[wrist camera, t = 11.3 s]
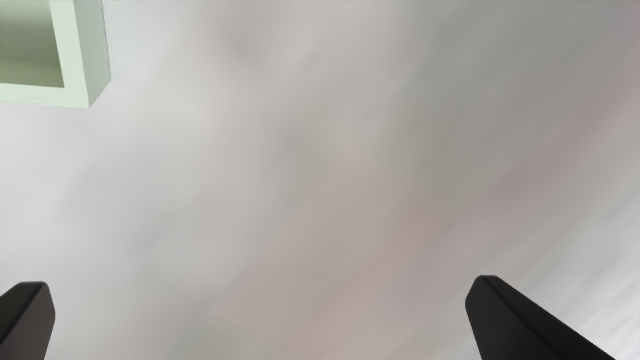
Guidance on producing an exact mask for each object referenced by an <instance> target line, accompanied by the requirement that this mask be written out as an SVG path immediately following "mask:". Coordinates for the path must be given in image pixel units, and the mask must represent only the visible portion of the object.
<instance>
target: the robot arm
mask: <svg viewBox="0 0 640 360" xmlns="http://www.w3.org/2000/svg"><path fill="white" fill-rule="evenodd" d="M465 308H466V312H467V315H468V318H469V321H470V324H471V327H472V330H473V334H474V337H475V340H476V343H477V346H478V349H479V352H480V355H481V358H482V360H616V359H614V358H613V357H611V356H610V355H609V354H607V353H606V352H604V351H603V350H601V349H600V348H599V347H597V346H596V345H594V344H593V343H591V342H590V341H589V340H587V339H586V338H584V337H583V336H581V335H580V334H579V333H577V332H576V331H574V330H573V329H571V328H570V327H569V326H567V325H566V324H564V323H563V322H562V321H560V320H559V319H557V318H556V317H554V316H553V315H552V314H550V313H549V312H547V311H546V310H544V309H543V308H542V307H540V306H539V305H537V304H536V303H534V302H533V301H532V300H530V299H529V298H527V297H526V296H524V295H523V294H522V293H520V292H519V291H517V290H516V289H514V288H513V287H512V286H510V285H509V284H507V283H506V282H505V281H503V280H502V279H500V278H499V277H497V276H494V275H480V276H478V277H477V278H476V279H475V281H474V283H473V285H472V287H471V289H470V291H469V293H468V295H467V297H466V300H465ZM54 322H55V308H54V305H53V301H52V298H51V294H50V290H49V287H48V285H47V284H46V283H45V282H42V281H34V282H20V283H18V284H16V285H15V286H13V287H12V288H11V289H9V290H8V291H7V292H5V293H4V294H3V295H2V296H0V360H44V357H45V354H46V350H47V347H48V343H49V340H50V337H51V333H52V330H53V326H54Z"/></svg>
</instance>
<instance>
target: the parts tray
mask: <svg viewBox="0 0 640 360" xmlns="http://www.w3.org/2000/svg"><path fill="white" fill-rule="evenodd" d="M110 81H111V77H110V68H109V60H108V51H107V43H106V35H105V26H104V18H103V9H102V1H101V0H0V102H8V103H22V104H36V105H50V106H64V107H77V108H90V107H91V106H92V104H93V103H94V102H95V101H96V99H97V98H98V97H99V95H100V94H101V93H102V91H103V90H104V89H105V87H106V86H107V85H108V83H109V82H110Z"/></svg>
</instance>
